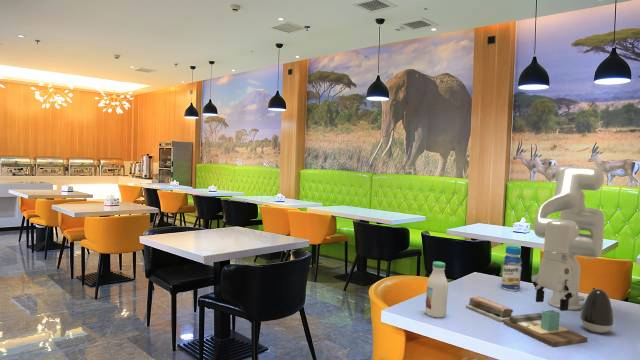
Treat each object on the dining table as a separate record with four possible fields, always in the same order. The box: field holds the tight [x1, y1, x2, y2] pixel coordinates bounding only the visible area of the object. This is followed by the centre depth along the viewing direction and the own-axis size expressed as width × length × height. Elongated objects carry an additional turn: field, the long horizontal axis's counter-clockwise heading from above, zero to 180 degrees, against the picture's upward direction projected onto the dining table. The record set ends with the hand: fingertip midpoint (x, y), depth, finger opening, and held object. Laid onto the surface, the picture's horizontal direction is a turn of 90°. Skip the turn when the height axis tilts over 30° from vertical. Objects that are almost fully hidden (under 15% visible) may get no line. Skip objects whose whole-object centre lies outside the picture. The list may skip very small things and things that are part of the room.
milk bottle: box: [424, 261, 449, 319], centre depth 173 cm, size 8×8×20 cm
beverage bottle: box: [500, 245, 523, 292], centre depth 217 cm, size 8×8×20 cm
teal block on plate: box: [526, 309, 569, 334], centre depth 159 cm, size 13×6×6 cm, turn 113°
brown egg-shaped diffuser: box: [580, 287, 615, 334], centre depth 166 cm, size 10×10×15 cm
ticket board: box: [503, 312, 588, 348], centre depth 161 cm, size 16×21×4 cm
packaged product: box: [465, 296, 515, 323], centre depth 179 cm, size 18×5×10 cm
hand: (551, 306), depth 158 cm, fingers open, 9 cm apart
